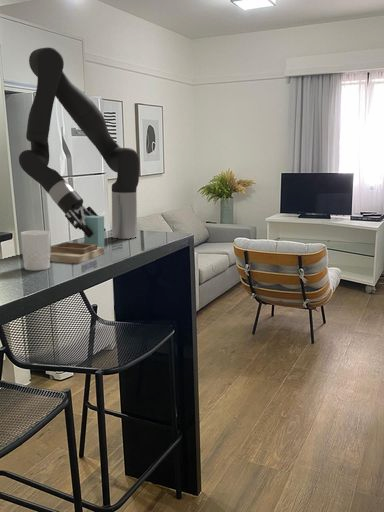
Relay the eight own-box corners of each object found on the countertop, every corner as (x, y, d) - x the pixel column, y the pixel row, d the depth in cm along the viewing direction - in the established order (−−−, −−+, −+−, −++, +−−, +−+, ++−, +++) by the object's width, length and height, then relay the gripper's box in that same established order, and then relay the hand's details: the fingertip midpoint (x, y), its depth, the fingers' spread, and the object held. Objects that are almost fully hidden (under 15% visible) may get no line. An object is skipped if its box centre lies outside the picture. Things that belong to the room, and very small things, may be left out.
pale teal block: (91, 247, 171) (90, 215, 169) (104, 248, 170) (103, 216, 168) (84, 250, 167) (83, 217, 165) (98, 251, 166) (97, 217, 164)
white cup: (20, 271, 137) (18, 234, 135) (24, 265, 144) (22, 230, 142) (50, 270, 138) (49, 234, 136) (52, 264, 146) (51, 230, 144)
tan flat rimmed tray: (70, 250, 166) (70, 240, 165) (104, 253, 162) (104, 242, 162) (43, 260, 151) (42, 248, 150) (79, 263, 147) (78, 251, 147)
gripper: (61, 191, 160) (94, 229, 159) (83, 188, 174) (114, 223, 173) (47, 207, 163) (80, 244, 162) (70, 203, 176) (100, 238, 175)
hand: (97, 233), depth 167 cm, fingers open, 8 cm apart
